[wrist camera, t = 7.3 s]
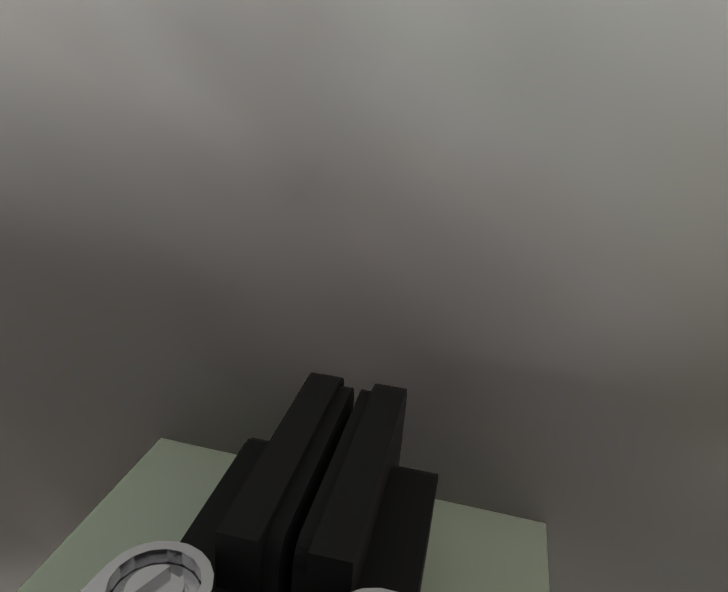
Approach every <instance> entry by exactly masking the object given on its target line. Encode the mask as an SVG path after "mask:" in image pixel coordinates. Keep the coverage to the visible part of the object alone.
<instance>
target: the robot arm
mask: <svg viewBox="0 0 728 592" xmlns="http://www.w3.org/2000/svg"><path fill="white" fill-rule="evenodd" d="M406 398H407V389H404V388H398V387H392V386H387V385H381V384H375V385H374V387H373V389H372V391H366V390H361V392H360V394H359V396H358V398H357V401H356V403H355V406H354V408H353V402H354V389H353V388H350V387H344V379H343V378H341V377H335V376H330V375H324V374H318V373H311V374H310V375H309V377H308V378H307V380H306V382H305V383H304V385H303V387H302V388H301V390H300V392H299V393H298V395H297V397H296V398H295V400H294V402H293V403H292V405H291V406H290V408H289V410H288V411H287V413H286V415H285V416H284V418H283V420H282V421H281V423H280V425H279V426H278V428H277V430H276V431H275V433H274V435H273V436H272V438H271V440H270V441H265V440H260V439H255V438H251V439H248V441H247V442H246V443H245V444H244V445H243V447H242V448H241V450H240V451H239V453H238V454H237V456H236V457H235V459H234V461H233V462H232V464H231V465H230V467H229V468H228V470H227V471H226V473H225V474H224V476H223V477H222V479H221V480H220V482H219V483H218V485H217V486H216V488H215V489H214V491H213V492H212V494H211V495H210V497H209V498H208V500H207V501H206V503H205V504H204V506H203V507H202V509H201V511H200V512H199V514H198V515H197V517H196V518H195V520H194V521H193V523H192V524H191V526H190V527H189V529H188V530H187V532H186V533H185V535H184V536H183V538H182V539H181V541H180V542H177V541H154V542H149V543H145V544H141V545H137V546H135V547H133V548H131V549H129V550H127V551H125V552H123V553H121V554H119V555H118V556H117V557H116V558H114V559H113V560H112V561H111V562H109V563H108V564H107V565H106V566H105V567H104V568H103V569H102V570H101V571H100V572H99V573H98V574H97V575H96V576H95V577H94V578H93V579H92V580H91V581H90V582H89V583H88V584H87V585H86V586H85V587H84V588H83V589H82V590H81V591H80V592H420V591H421V585H422V579H423V573H424V566H425V560H426V554H427V548H428V541H429V535H430V529H431V522H432V515H433V509H434V502H435V495H436V488H437V481H438V474H434V473H429V472H424V471H419V470H414V469H409V468H403V467H399V458H400V450H401V441H402V433H403V424H404V416H405V407H406Z"/></svg>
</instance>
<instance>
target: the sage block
mask: <svg viewBox="0 0 728 592" xmlns="http://www.w3.org/2000/svg"><path fill="white" fill-rule="evenodd" d="M236 456H237V455H236V454H231V453H227V452H222V451H218V450H213V449H209V448H204V447H200V446H195V445H191V444H186V443H182V442H177V441H173V440H168V439H164V438H160V439H159V440H158V441H157V442H156V443H155V445H154V446H153V447H152V448H151V449H150V450H149V451H148V452H147V453H146V454H145V455H144V456H143V457H142V458H141V459H140V461H139V462H138V463H137V464H136V465H135V466H134V467H133V468H132V469H131V470H130V471H129V472H128V473H127V474H126V475H125V476H124V478H123V479H122V480H121V481H120V482H119V483H118V484H117V485H116V486H115V487H114V488H113V489H112V490H111V491H110V492H109V494H108V495H107V496H106V497H105V498H104V499H103V500H102V501H101V502H100V503H99V504H98V505H97V506H96V507H95V508H94V510H93V511H92V512H91V513H90V514H89V515H88V516H87V517H86V518H85V519H84V520H83V521H82V522H81V523H80V524H79V526H78V527H77V528H76V529H75V530H74V531H73V532H72V533H71V534H70V535H69V536H68V537H67V538H66V539H65V540H64V541H63V543H62V544H61V545H60V546H59V547H58V548H57V549H56V550H55V551H54V552H53V553H52V554H51V555H50V556H49V557H48V559H47V560H46V561H45V562H44V563H43V564H42V565H41V566H40V567H39V568H38V569H37V570H36V571H35V572H34V573H33V575H32V576H31V577H30V578H29V579H28V580H27V581H26V582H25V583H24V584H23V585H22V586H21V587H20V588H19V589H18V591H17V592H80V591H81V590H82V589H83V588H84V587H85V586H86V585H87V584H88V583H89V582H90V581H91V580H92V579H93V578H94V577H95V576H96V575H97V574H98V573H99V572H100V571H101V570H102V569H103V568H104V567H105V566H106V565H107V564H108V563H109V562H111V561H112V560H113V559H114V558H116V557H117V556H118V555H119V554H121V553H123V552H125V551H127V550H129V549H131V548H133V547H135V546H137V545H141V544H145V543H149V542H154V541H177V542H180V541H181V539H182V538H183V536H184V535H185V533H186V532H187V530H188V529H189V527H190V526H191V524H192V523H193V521H194V520H195V518H196V517H197V515H198V514H199V512H200V511H201V509H202V507H203V506H204V504H205V503H206V501H207V500H208V498H209V497H210V495H211V494H212V492H213V491H214V489H215V488H216V486H217V485H218V483H219V482H220V480H221V479H222V477H223V476H224V474H225V473H226V471H227V470H228V468H229V467H230V465H231V464H232V462H233V461H234V459H235V457H236ZM420 592H550V588H549V571H548V553H547V535H546V523H542V522H538V521H533V520H529V519H524V518H520V517H515V516H511V515H506V514H502V513H497V512H493V511H488V510H484V509H479V508H475V507H470V506H466V505H461V504H457V503H452V502H448V501H443V500H438V499H435V502H434V509H433V515H432V522H431V529H430V535H429V541H428V548H427V554H426V560H425V566H424V573H423V579H422V585H421V591H420Z"/></svg>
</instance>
